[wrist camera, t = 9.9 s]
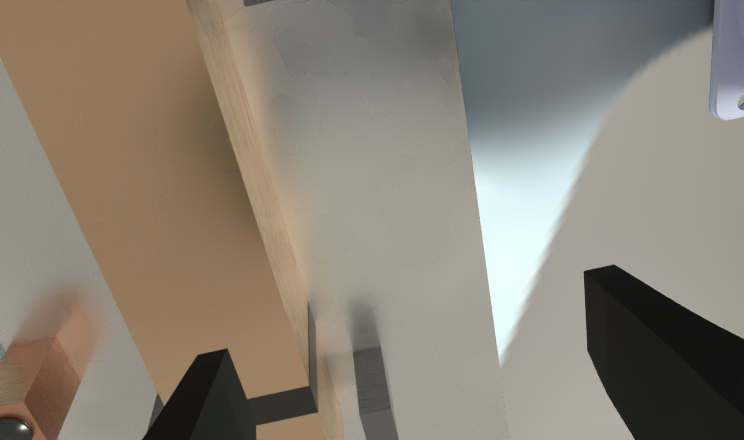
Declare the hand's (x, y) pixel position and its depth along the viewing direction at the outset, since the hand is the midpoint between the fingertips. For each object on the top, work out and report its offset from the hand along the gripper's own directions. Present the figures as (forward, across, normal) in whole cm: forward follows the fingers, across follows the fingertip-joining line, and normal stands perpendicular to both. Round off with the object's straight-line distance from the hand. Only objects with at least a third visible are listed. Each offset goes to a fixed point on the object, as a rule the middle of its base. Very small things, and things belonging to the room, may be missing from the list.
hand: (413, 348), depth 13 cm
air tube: (+8, +5, 0) cm, 9 cm away
